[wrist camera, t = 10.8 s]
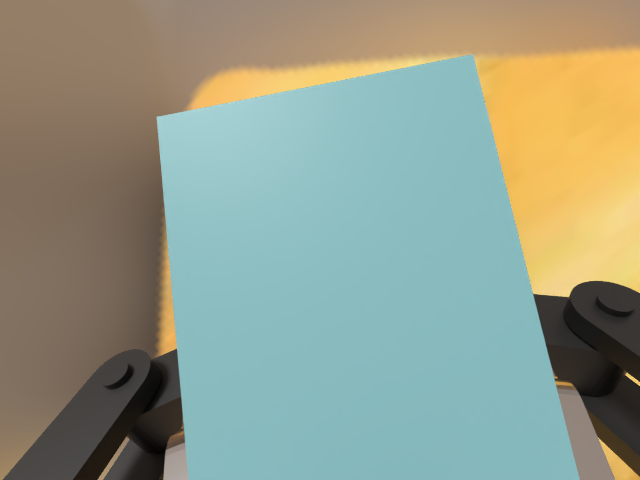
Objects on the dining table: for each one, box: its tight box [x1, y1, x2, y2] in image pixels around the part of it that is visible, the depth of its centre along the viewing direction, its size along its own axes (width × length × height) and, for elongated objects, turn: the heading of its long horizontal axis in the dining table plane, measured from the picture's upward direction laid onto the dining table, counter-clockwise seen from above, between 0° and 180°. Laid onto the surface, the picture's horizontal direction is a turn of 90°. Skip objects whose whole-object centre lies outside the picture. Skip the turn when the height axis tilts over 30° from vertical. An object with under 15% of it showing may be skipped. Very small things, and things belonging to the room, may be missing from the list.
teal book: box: [157, 54, 580, 480], centre depth 10 cm, size 4×6×12 cm
